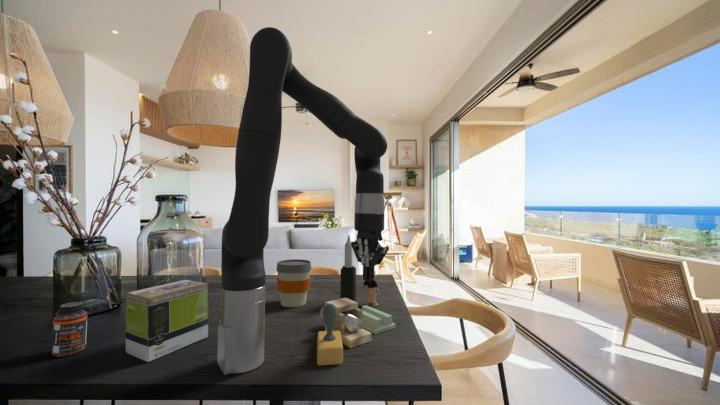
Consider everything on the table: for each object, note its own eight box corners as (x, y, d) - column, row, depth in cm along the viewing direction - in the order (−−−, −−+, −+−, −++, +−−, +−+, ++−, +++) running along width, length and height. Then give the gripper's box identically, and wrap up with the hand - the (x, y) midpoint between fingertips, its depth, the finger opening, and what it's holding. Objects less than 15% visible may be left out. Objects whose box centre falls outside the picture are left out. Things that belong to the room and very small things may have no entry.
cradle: (375, 334, 83) (375, 321, 83) (347, 320, 93) (347, 309, 93) (395, 327, 88) (395, 315, 88) (367, 314, 98) (367, 304, 98)
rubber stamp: (317, 345, 76) (318, 298, 76) (340, 344, 77) (340, 297, 77) (316, 365, 66) (317, 311, 67) (342, 364, 67) (343, 310, 67)
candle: (353, 305, 107) (354, 236, 107) (339, 304, 108) (340, 235, 108) (356, 301, 112) (357, 234, 112) (343, 300, 113) (343, 234, 113)
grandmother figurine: (382, 304, 109) (383, 269, 109) (377, 307, 105) (378, 271, 106) (364, 301, 113) (365, 267, 113) (359, 303, 109) (359, 269, 110)
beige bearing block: (350, 348, 74) (350, 314, 75) (324, 332, 84) (325, 302, 84) (371, 340, 79) (371, 308, 79) (345, 326, 88) (345, 297, 88)
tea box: (185, 330, 84) (186, 278, 84) (208, 338, 79) (210, 282, 80) (123, 353, 71) (125, 290, 71) (146, 364, 66) (148, 297, 66)
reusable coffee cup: (299, 296, 118) (300, 258, 119) (317, 303, 109) (318, 262, 109) (269, 302, 110) (270, 261, 110) (286, 311, 101) (287, 266, 101)
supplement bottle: (55, 360, 67) (57, 310, 67) (47, 353, 70) (49, 305, 70) (90, 350, 72) (91, 303, 72) (81, 344, 75) (82, 298, 75)
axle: (361, 330, 80) (360, 315, 80) (349, 335, 78) (349, 320, 78) (331, 315, 91) (331, 302, 91) (320, 319, 88) (320, 306, 88)
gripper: (342, 211, 78) (341, 277, 78) (374, 212, 68) (373, 289, 67) (365, 211, 83) (364, 274, 82) (398, 212, 72) (397, 284, 72)
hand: (368, 280), depth 75 cm, fingers closed
